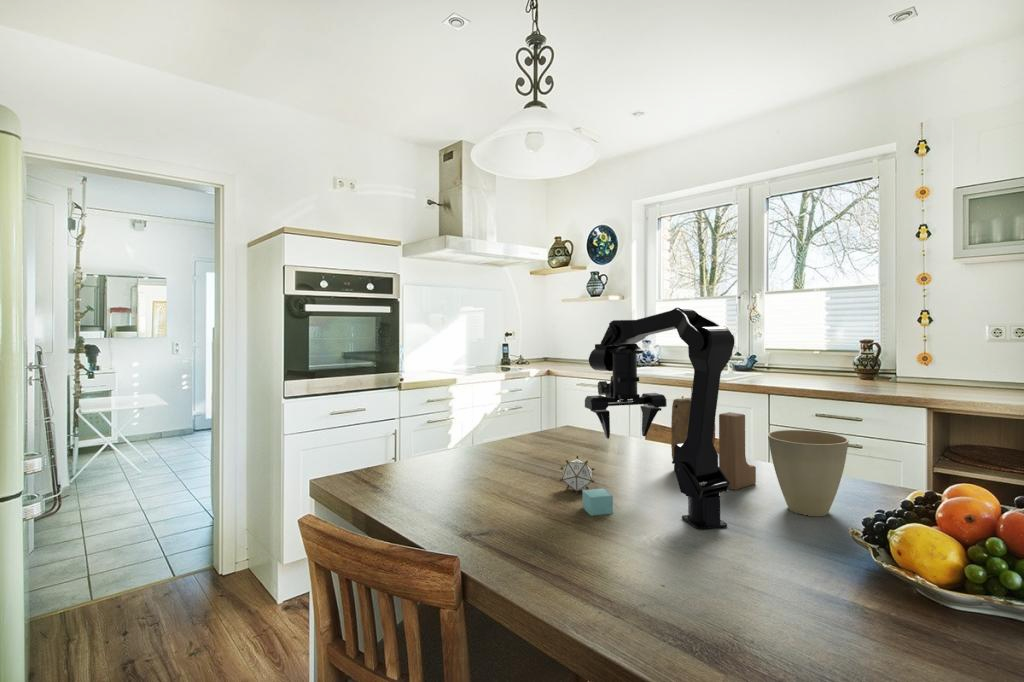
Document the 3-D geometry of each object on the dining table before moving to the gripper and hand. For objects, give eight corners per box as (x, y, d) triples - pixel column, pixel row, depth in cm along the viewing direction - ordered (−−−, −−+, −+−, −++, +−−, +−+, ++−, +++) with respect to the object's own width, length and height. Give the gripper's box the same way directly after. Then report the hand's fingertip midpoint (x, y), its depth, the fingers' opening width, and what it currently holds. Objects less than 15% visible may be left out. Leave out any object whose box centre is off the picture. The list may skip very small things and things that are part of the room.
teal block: (612, 514, 109) (612, 495, 109) (590, 516, 108) (590, 497, 108) (603, 506, 114) (603, 488, 114) (582, 508, 113) (582, 490, 113)
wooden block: (739, 479, 132) (739, 410, 131) (756, 484, 128) (756, 412, 127) (718, 486, 127) (718, 413, 126) (735, 490, 123) (734, 416, 122)
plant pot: (804, 495, 119) (804, 427, 118) (866, 518, 104) (866, 440, 104) (752, 503, 114) (752, 432, 114) (809, 527, 100) (809, 446, 99)
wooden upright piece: (668, 470, 141) (668, 398, 141) (684, 465, 146) (684, 395, 145) (704, 479, 132) (703, 402, 132) (720, 473, 137) (719, 399, 137)
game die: (574, 503, 126) (575, 464, 132) (602, 497, 121) (602, 457, 127) (550, 492, 121) (552, 452, 127) (579, 485, 116) (579, 445, 122)
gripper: (646, 369, 132) (647, 429, 132) (577, 371, 129) (578, 433, 129) (667, 371, 121) (668, 437, 121) (591, 374, 118) (593, 442, 118)
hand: (626, 437), depth 123 cm, fingers open, 9 cm apart
